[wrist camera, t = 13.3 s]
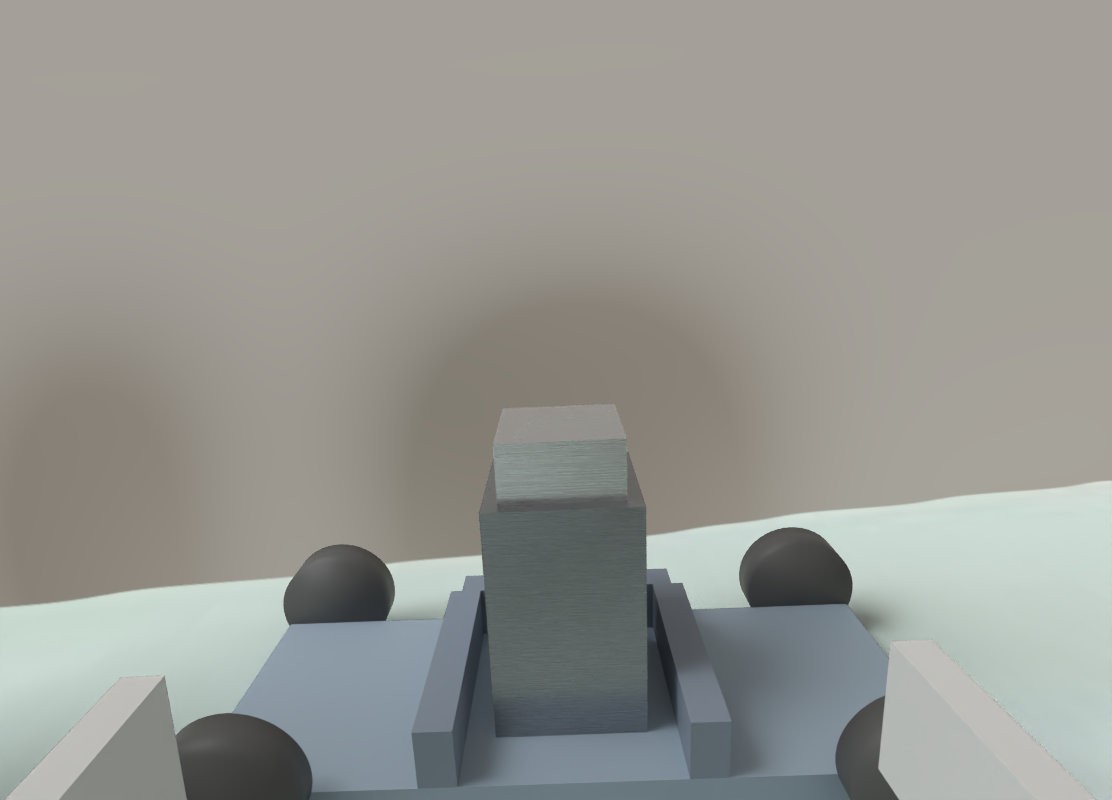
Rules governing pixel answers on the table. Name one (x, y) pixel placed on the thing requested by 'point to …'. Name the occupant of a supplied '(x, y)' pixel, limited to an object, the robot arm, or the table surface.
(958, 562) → the table surface
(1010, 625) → the table surface
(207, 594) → the table surface
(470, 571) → the table surface
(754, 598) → the chassis
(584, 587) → the capped grey pillar
